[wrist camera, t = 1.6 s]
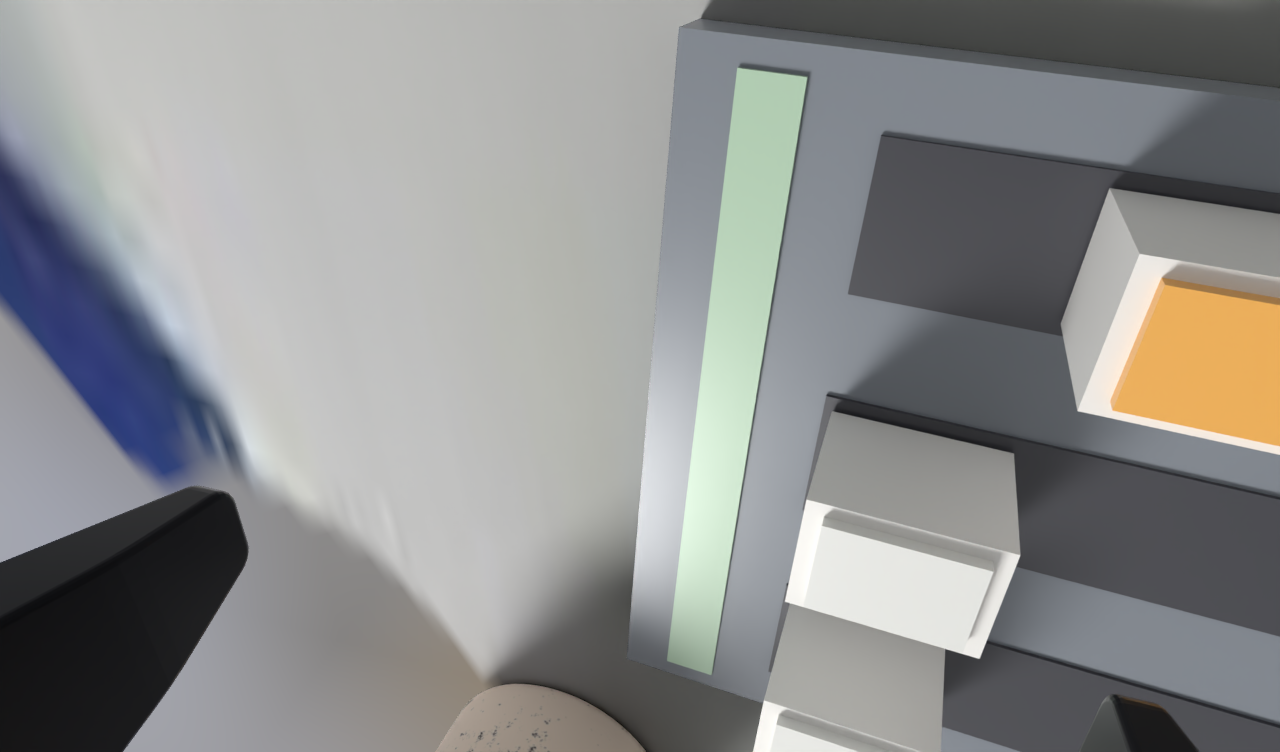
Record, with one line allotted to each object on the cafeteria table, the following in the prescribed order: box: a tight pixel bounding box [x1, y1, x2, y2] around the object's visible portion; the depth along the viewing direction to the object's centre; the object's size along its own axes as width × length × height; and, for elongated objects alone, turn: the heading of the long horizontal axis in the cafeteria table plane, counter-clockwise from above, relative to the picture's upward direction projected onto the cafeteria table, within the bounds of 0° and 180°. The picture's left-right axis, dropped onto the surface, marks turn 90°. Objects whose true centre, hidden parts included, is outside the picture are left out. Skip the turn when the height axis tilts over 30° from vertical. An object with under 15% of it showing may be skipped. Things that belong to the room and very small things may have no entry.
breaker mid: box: [785, 411, 1020, 659], centre depth 18 cm, size 4×3×4 cm
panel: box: [627, 19, 1280, 752], centre depth 19 cm, size 21×18×2 cm
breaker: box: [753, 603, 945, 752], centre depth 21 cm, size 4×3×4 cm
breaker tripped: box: [1061, 188, 1280, 455], centre depth 14 cm, size 4×3×4 cm
